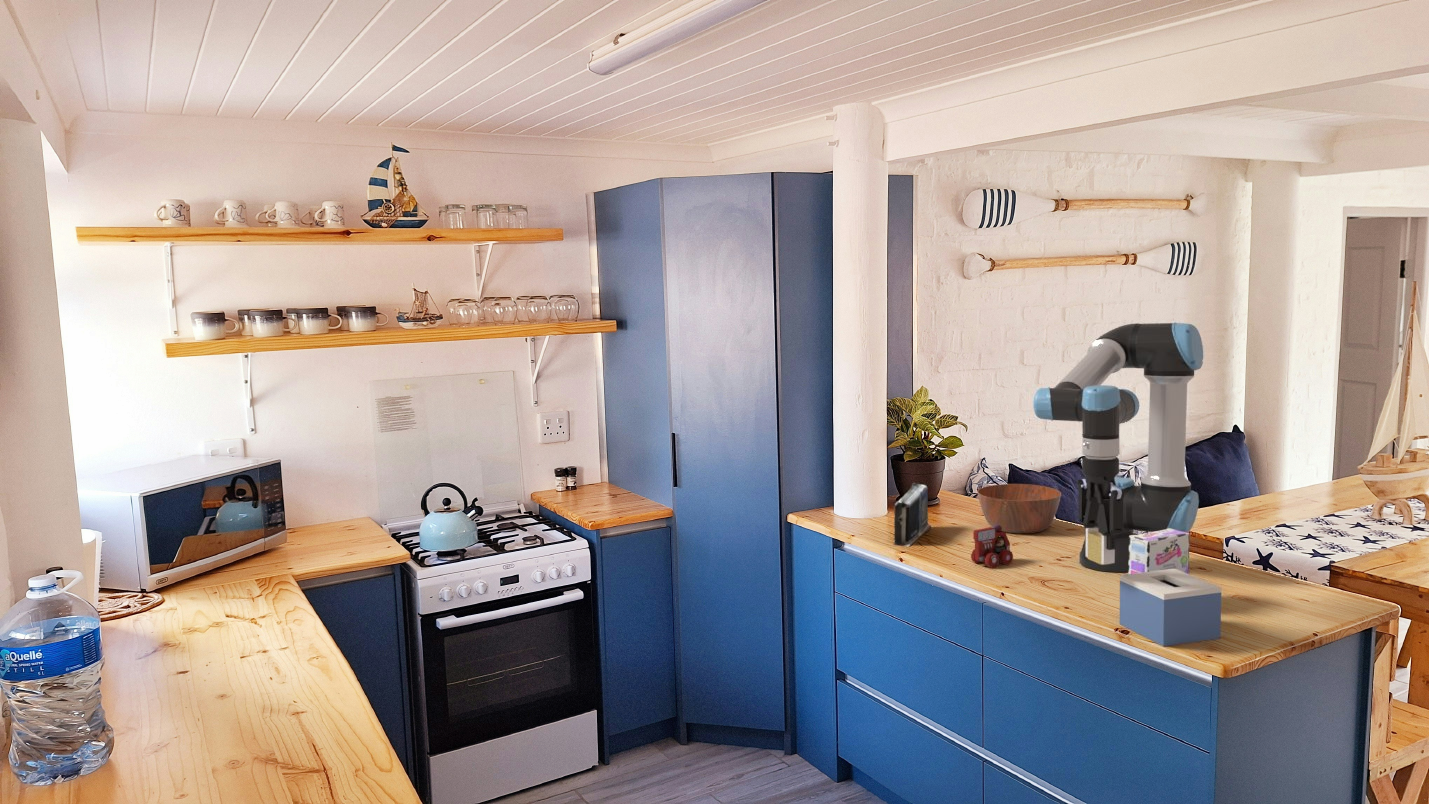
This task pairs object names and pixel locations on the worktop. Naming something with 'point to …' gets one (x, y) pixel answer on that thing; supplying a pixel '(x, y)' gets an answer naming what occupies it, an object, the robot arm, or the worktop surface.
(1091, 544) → the wooden toy block
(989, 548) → the toy fire truck
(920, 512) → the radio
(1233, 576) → the worktop surface
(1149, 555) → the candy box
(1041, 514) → the bowl
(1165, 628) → the coin box
